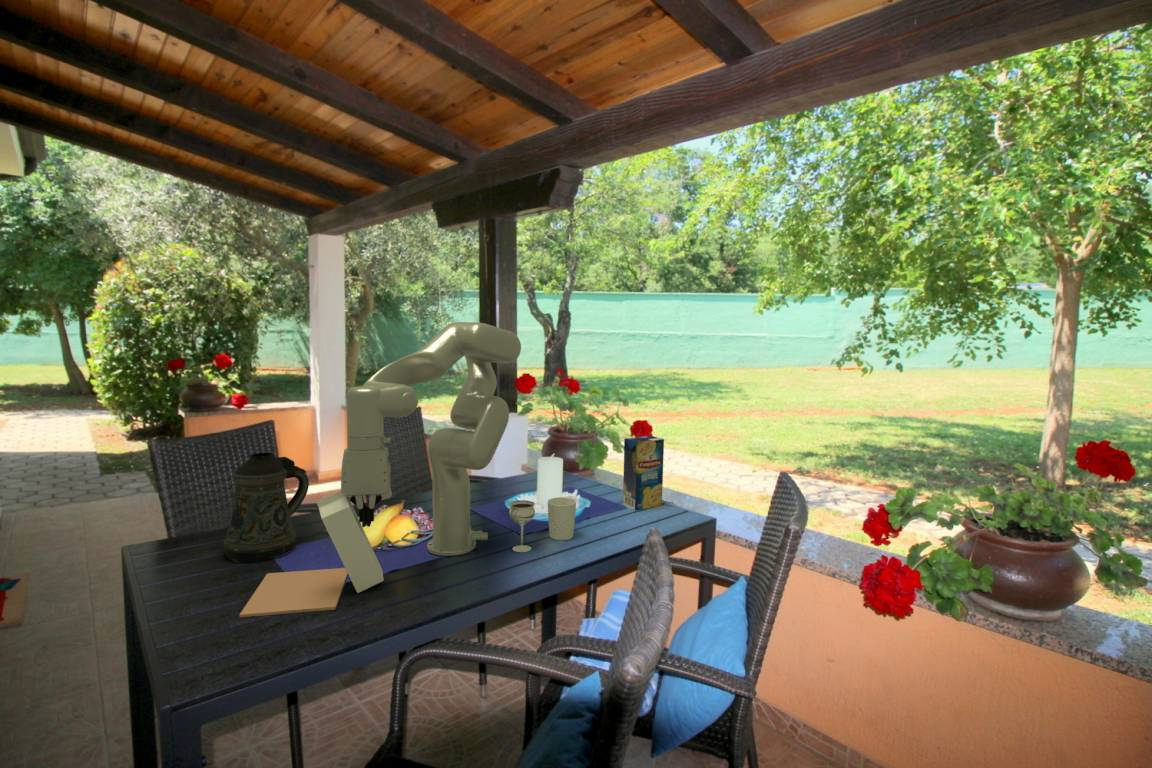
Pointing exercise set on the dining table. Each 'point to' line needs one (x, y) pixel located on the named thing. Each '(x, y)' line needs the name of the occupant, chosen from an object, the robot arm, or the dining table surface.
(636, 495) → the blue cardboard tall box
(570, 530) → the beige tumbler cup
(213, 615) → the dining table surface
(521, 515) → the wineglass
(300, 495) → the beer stein
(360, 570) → the milk
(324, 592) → the mat
